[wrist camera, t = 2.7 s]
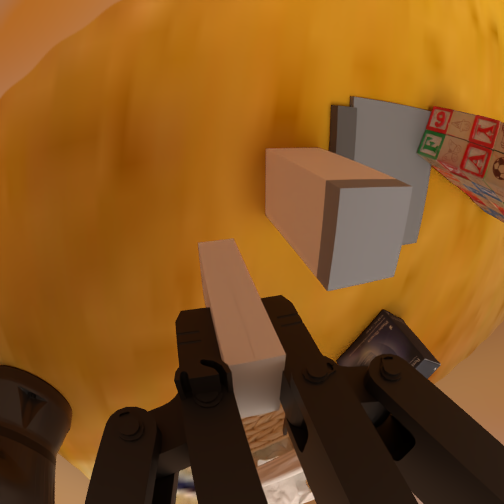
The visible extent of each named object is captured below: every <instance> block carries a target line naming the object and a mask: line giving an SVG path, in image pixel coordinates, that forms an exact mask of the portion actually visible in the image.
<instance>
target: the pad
mask: <svg viewBox="0 0 504 504" xmlns="http://www.w3.org/2000/svg"><path fill="white" fill-rule="evenodd" d="M430 115H431V111H427V110H423V109H419V108H414V107H410V106H405V105H400V104H395V103H390V102H384V101H378V100H372V99H366V98H359V97H350V107H346V106H336V105H331V125H330V147H329V151H330V152H332V153H335V154H338V155H340V156H343V157H345V158H348V159H351V160H353V161H356V162H358V163H360V164H363V165H365V166H368V167H370V168H372V169H375V170H377V171H380V172H382V173H384V174H386V175H389V176H391V177H393V178H395V179H398V180H400V181H402V182H404V183H406V184H408V185H410V186H413V188H412V194H411V200H410V206H409V211H408V216H407V222H406V226H405V231H404V236H403V241H402V245H405V244H411V243H416V242H417V238H418V234H419V229H420V225H421V220H422V215H423V210H424V205H425V200H426V194H427V188H428V182H429V176H430V169H431V164H430V163H428V162H427V161H426V160H425V159H423V158H422V157H421V156H419V155H418V154H417V151H418V149H419V146H420V143H421V141H422V138H423V135H424V133H425V131H426V126H427V124H428V121H429V118H430Z"/></svg>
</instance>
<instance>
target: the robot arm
mask: <svg viewBox="0 0 504 504" xmlns="http://www.w3.org/2000/svg"><path fill="white" fill-rule="evenodd" d="M198 249H199V259H200V268H201V277H202V285H203V294H204V300H205V305H206V308H200V309H193V310H185V311H181V312H180V314H179V316H178V318H177V320H176V322H175V323H176V335H177V347H178V358H179V368H178V369H177V371H176V372H175V379H174V381H175V384H176V387H177V390H178V393H177V395H176V396H175V398H173V399H172V400H171V401H170V402H169V403H167V404H165V405H163V406H161V407H158V408H156V409H153V410H151V411H148V412H147V411H146V410H145V409H141V408H138V407H125V408H122V409H120V410H117V411H116V412H115V413H114V414H112V415H111V416H110V418H109V420H108V421H107V423H106V426H105V429H104V432H103V436H102V439H101V443H100V446H99V450H98V453H97V457H96V460H95V464H94V468H93V472H92V476H91V480H90V484H89V488H88V492H87V496H86V500H85V504H175V502H176V493H177V484H178V476H179V471H180V470H183V469H185V468H187V467H190V466H191V470H192V475H193V480H194V485H195V490H196V495H197V500H198V504H268V502H267V499H266V497H265V494H264V491H263V488H262V485H261V482H260V478H259V475H258V472H257V469H256V466H255V463H254V460H253V456H252V453H251V450H250V447H249V443H248V440H247V437H246V433H245V430H244V427H243V423H242V420H241V418H246V417H251V416H256V415H260V414H265V413H269V412H273V411H278V410H279V409H280V402H281V405H282V407H283V410H284V412H285V418H284V424H283V429H282V430H283V436H284V435H287V431H288V434H289V437H290V439H291V442H292V444H293V447H294V449H295V452H296V454H297V457H298V459H299V462H300V464H301V467H302V469H303V472H304V474H305V477H306V479H307V481H308V484H309V486H310V489H311V491H312V494H313V496H314V498H315V501H316V503H317V504H418V502H417V501H416V499H415V497H414V495H413V494H412V492H413V493H414V494H415V495H416V496H417V497H418V498H419V499H420V500H421V501H422V502H423V503H424V504H504V446H503V445H502V444H501V443H500V442H499V441H498V440H497V439H495V438H494V437H493V436H492V435H491V434H490V433H489V432H488V431H486V430H485V429H484V428H483V427H482V426H481V425H479V424H478V423H477V422H476V421H475V420H474V419H473V418H472V417H471V416H469V415H468V414H467V413H466V412H465V411H464V410H463V409H461V408H460V407H459V406H458V405H457V404H456V403H454V402H453V401H452V400H451V399H450V398H449V397H448V396H447V395H445V394H444V393H443V392H442V391H441V390H440V389H438V388H437V387H436V386H435V385H434V384H433V383H432V382H430V381H429V380H428V379H427V378H426V377H425V376H423V375H422V374H421V373H420V372H419V371H418V370H416V369H415V368H414V367H413V366H412V365H410V364H409V363H408V362H407V361H406V360H404V359H403V358H401V357H399V356H397V355H394V354H381V355H378V356H376V357H375V358H374V359H373V360H372V361H371V362H370V364H369V366H358V367H347V366H340V365H337V364H336V363H335V362H334V361H333V360H331V359H329V358H328V357H326V356H323V355H322V354H321V352H320V351H319V349H318V347H317V345H316V344H315V342H314V340H313V339H312V337H311V335H310V333H309V332H308V330H307V328H306V326H305V325H304V323H303V322H302V319H301V318H300V316H299V315H298V312H297V311H296V309H295V307H294V306H293V304H292V303H291V302H290V301H289V300H287V299H286V298H285V297H283V296H282V295H278V296H272V297H266V298H260V297H259V294H258V292H257V290H256V288H255V285H254V283H253V281H252V279H251V277H250V274H249V272H248V270H247V268H246V265H245V263H244V261H243V259H242V257H241V254H240V252H239V250H238V248H237V245H236V243H235V241H234V239H226V240H217V241H209V242H201V243H198ZM71 420H72V410H71V407H70V405H69V404H68V402H67V401H66V399H65V398H64V397H63V396H62V395H61V394H60V393H59V392H58V391H56V390H55V389H54V388H53V387H51V386H50V385H49V384H47V383H46V382H44V381H42V380H41V379H39V378H37V377H35V376H33V375H31V374H29V373H27V372H24V371H22V370H19V369H16V368H12V367H7V366H0V504H55V501H54V499H55V465H56V456H57V453H58V451H59V449H60V447H61V445H62V443H63V441H64V439H65V437H66V434H67V433H68V431H69V430H70V427H71ZM411 491H412V492H411Z"/></svg>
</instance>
